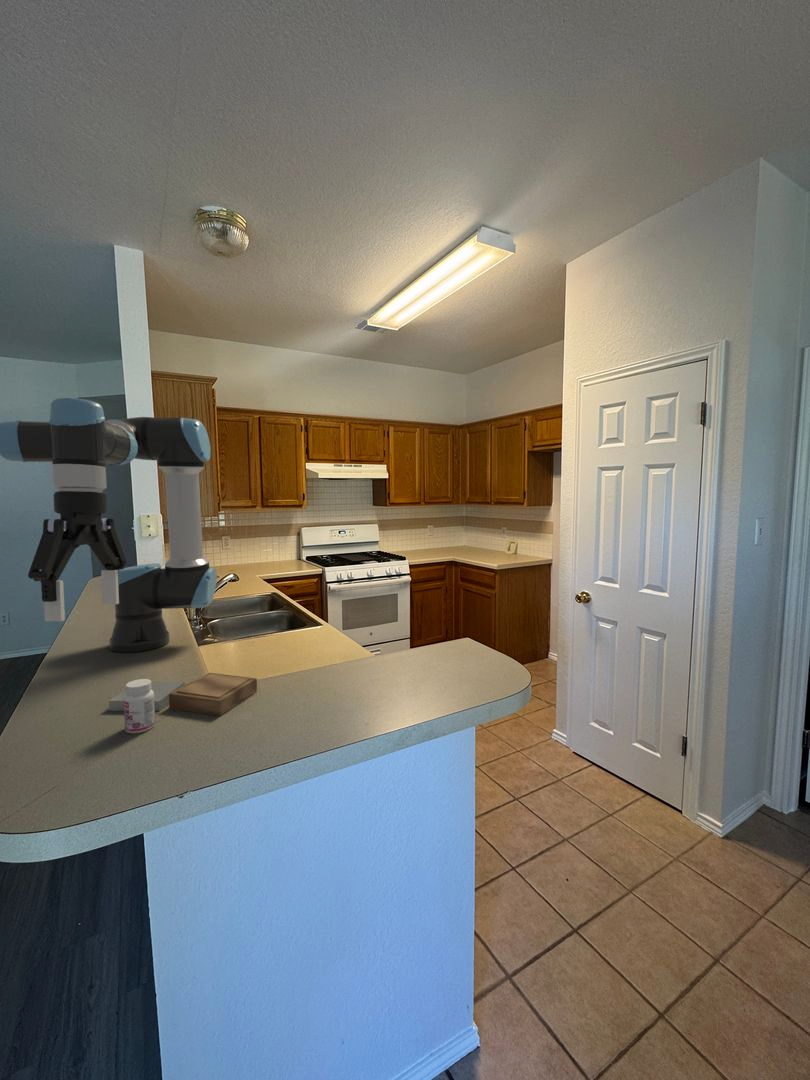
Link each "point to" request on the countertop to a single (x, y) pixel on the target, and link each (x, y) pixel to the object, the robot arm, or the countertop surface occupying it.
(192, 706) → the walnut stand
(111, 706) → the slate tile
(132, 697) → the pill bottle
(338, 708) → the countertop surface
